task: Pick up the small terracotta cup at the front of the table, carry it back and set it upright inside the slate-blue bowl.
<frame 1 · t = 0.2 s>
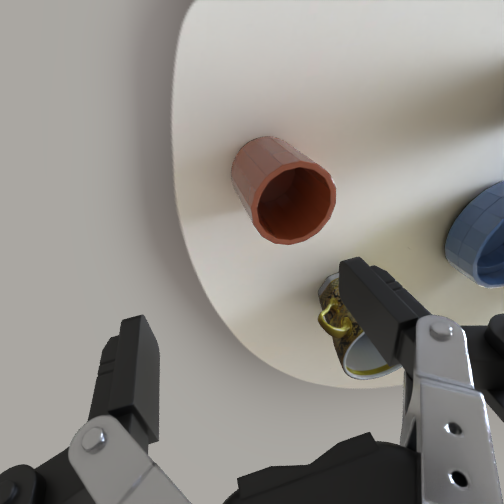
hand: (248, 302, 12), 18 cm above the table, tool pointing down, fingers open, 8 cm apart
ceramic cup: (331, 285, 39), on the table
cup: (264, 172, 29), on the table
bowl: (486, 225, 40), on the table
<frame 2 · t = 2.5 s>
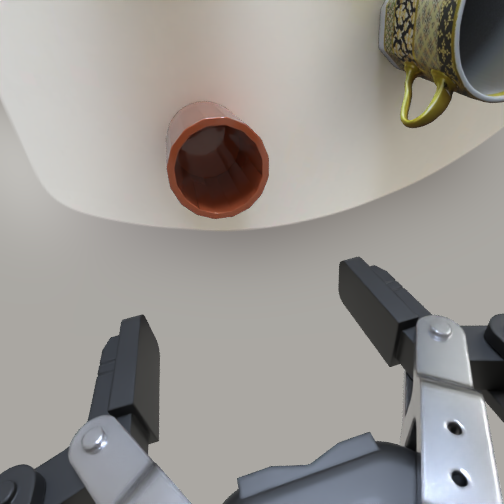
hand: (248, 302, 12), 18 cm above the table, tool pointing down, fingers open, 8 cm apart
ceramic cup: (399, 38, 25), on the table
cup: (205, 143, 26), on the table
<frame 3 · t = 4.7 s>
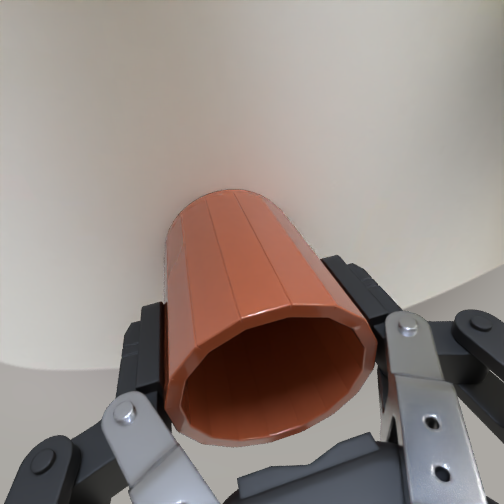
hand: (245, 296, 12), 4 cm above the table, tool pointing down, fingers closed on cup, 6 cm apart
cup: (230, 249, 16), on the table, touching gripper
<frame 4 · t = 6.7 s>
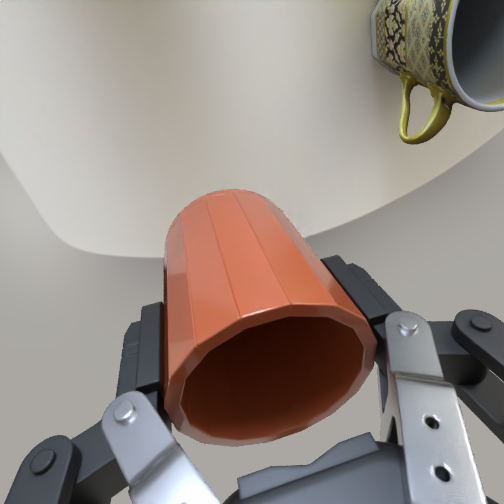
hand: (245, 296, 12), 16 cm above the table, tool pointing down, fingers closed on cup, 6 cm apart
ceramic cup: (393, 42, 24), on the table
cup: (230, 248, 16), point 13 cm above the table, touching gripper
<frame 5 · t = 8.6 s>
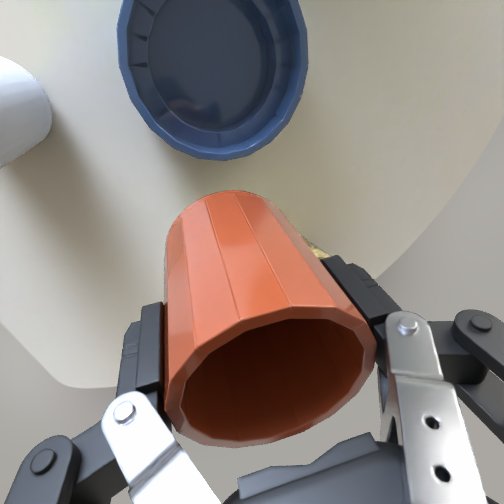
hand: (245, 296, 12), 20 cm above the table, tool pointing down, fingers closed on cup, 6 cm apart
cup: (230, 250, 16), point 16 cm above the table, touching gripper
bowl: (210, 64, 25), on the table
beverage can: (8, 102, 23), on the table
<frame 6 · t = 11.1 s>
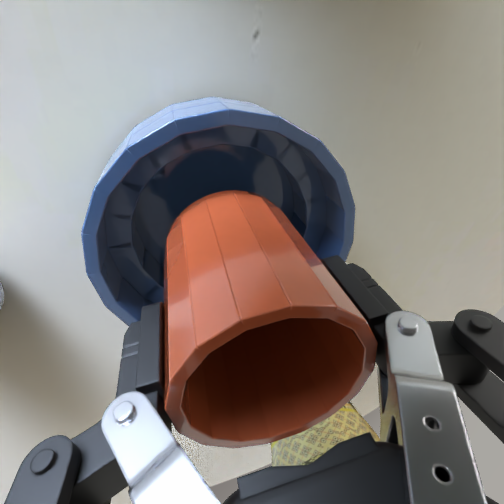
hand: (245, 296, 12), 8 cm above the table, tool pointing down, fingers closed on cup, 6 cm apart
ceramic cup: (287, 389, 32), on the table
cup: (230, 249, 16), point 4 cm above the table, touching gripper
bowl: (217, 213, 19), on the table
when the fingers open (4 cm above the table, at t = 12.8 s): cup stays where it is, resting on bowl.
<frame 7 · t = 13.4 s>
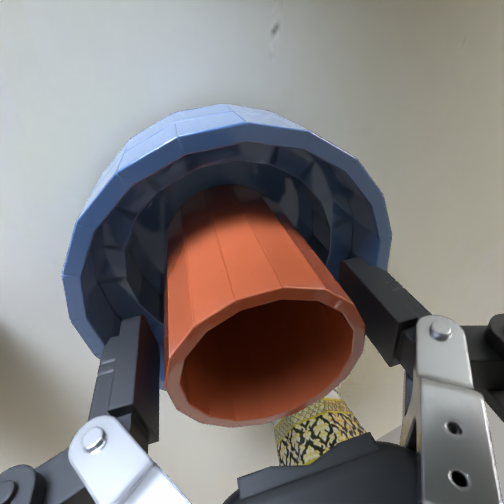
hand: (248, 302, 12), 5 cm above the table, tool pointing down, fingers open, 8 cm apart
ceramic cup: (297, 416, 30), on the table
cup: (228, 242, 16), point 1 cm above the table, touching bowl
bowl: (225, 236, 17), on the table
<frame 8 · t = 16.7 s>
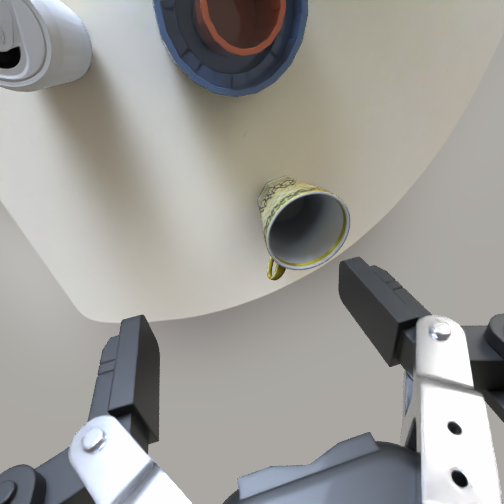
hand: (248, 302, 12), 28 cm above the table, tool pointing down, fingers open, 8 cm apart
ceramic cup: (275, 208, 43), on the table
cup: (226, 15, 29), point 1 cm above the table, touching bowl
bowl: (225, 15, 30), on the table
beverage can: (55, 41, 28), on the table
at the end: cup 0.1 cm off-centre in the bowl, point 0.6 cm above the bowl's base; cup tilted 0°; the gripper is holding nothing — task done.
